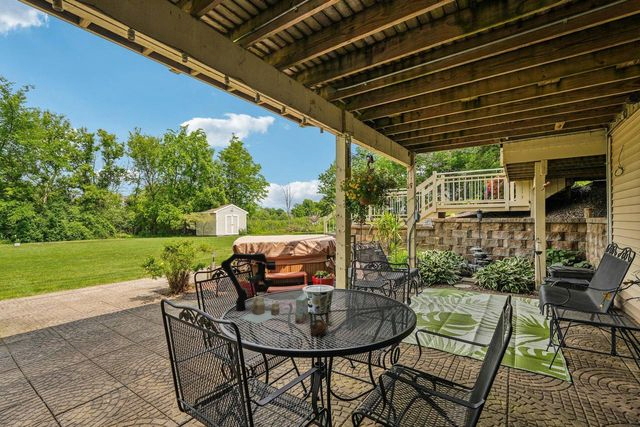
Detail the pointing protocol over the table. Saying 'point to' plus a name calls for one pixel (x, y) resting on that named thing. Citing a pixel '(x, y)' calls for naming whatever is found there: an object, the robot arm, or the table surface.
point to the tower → (275, 309)
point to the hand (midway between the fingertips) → (260, 292)
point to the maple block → (258, 300)
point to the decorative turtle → (318, 327)
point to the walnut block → (258, 309)
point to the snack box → (301, 309)
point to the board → (258, 317)
